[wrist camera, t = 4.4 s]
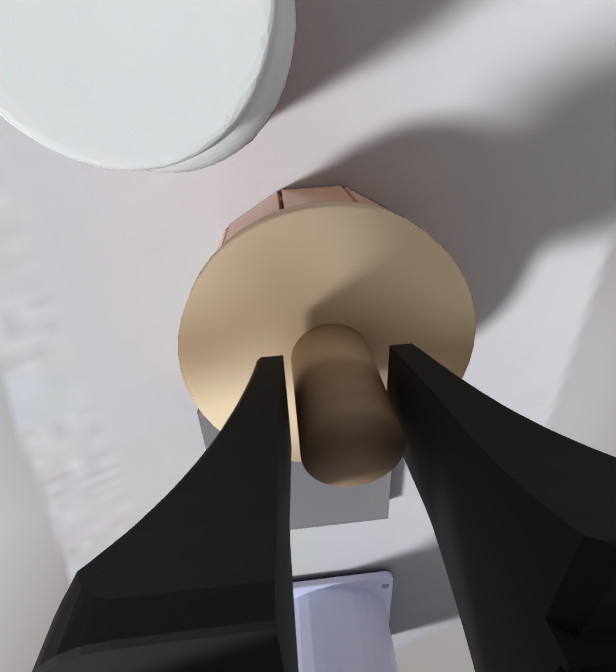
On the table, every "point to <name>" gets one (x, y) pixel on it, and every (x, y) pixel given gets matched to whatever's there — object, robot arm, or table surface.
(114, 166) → the pill bottle
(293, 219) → the lid
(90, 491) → the table surface
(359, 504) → the coaster
